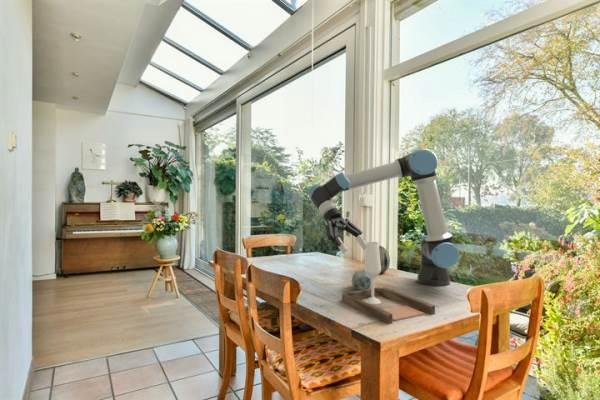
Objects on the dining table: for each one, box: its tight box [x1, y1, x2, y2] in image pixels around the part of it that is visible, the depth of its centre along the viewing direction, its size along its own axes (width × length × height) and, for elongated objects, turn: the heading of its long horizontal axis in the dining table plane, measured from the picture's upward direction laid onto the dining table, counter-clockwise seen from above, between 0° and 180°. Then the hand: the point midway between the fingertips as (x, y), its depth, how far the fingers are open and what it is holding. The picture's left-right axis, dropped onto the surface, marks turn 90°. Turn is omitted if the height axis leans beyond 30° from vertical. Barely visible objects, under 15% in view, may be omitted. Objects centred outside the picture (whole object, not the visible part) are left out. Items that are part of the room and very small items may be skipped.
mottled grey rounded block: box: [351, 270, 371, 291], centre depth 162 cm, size 14×10×10 cm
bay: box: [341, 286, 436, 325], centre depth 137 cm, size 22×29×3 cm
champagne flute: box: [363, 241, 382, 305], centre depth 143 cm, size 7×7×24 cm
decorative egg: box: [379, 245, 391, 274], centre depth 194 cm, size 12×12×15 cm
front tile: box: [383, 304, 426, 322], centre depth 129 cm, size 14×10×1 cm
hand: (356, 249), depth 149 cm, fingers open, 13 cm apart
